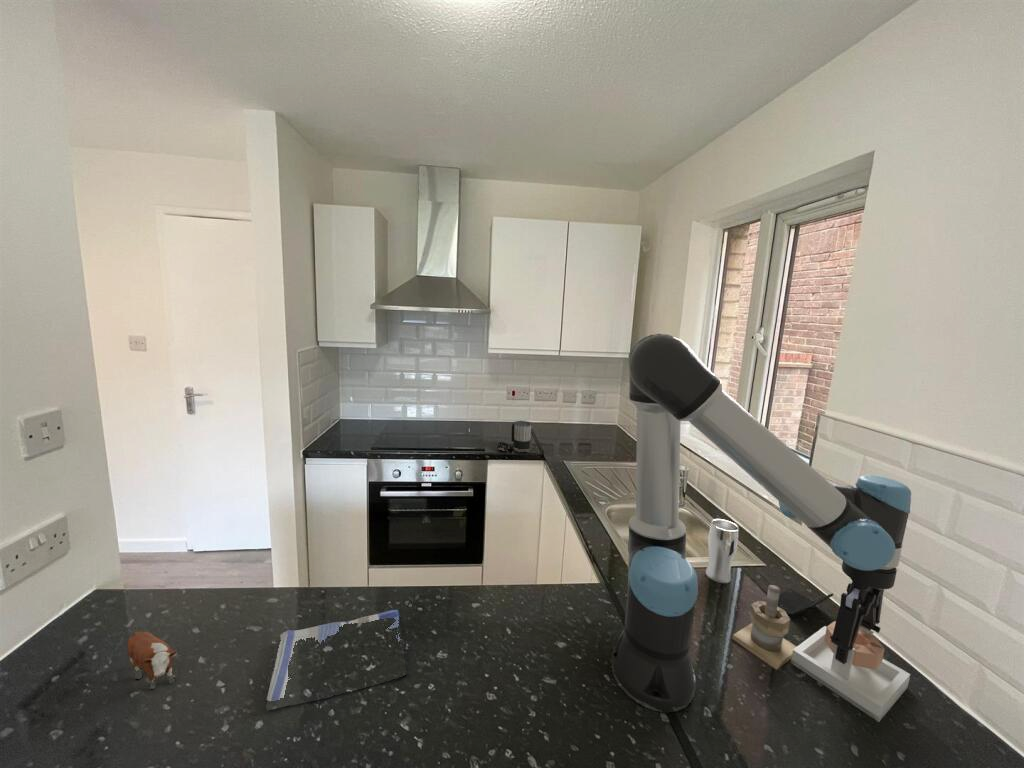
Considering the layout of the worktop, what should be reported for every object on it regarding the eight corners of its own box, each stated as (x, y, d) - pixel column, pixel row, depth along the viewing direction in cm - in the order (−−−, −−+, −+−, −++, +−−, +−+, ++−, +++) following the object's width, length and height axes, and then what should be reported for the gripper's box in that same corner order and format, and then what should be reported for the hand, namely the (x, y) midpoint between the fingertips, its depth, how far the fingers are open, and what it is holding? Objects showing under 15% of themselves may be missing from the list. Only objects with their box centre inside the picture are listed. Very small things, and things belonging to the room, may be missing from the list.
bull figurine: (154, 710, 66) (149, 666, 65) (125, 670, 73) (121, 630, 72) (186, 690, 70) (182, 648, 69) (156, 654, 77) (152, 615, 76)
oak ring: (776, 640, 81) (778, 627, 81) (744, 619, 87) (746, 607, 86) (792, 629, 85) (794, 616, 84) (760, 610, 90) (762, 597, 89)
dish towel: (281, 639, 83) (281, 627, 82) (401, 616, 90) (401, 605, 90) (260, 718, 66) (260, 703, 66) (408, 682, 74) (408, 668, 74)
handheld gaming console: (781, 581, 107) (812, 567, 100) (804, 608, 103) (838, 595, 97) (762, 604, 100) (794, 590, 93) (787, 633, 97) (822, 621, 90)
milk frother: (534, 451, 210) (535, 423, 208) (513, 457, 199) (515, 428, 197) (513, 444, 220) (515, 418, 218) (493, 450, 208) (494, 422, 206)
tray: (878, 722, 70) (882, 707, 70) (790, 662, 82) (792, 649, 82) (907, 687, 78) (910, 674, 77) (822, 638, 89) (824, 625, 89)
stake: (776, 669, 80) (786, 608, 78) (732, 638, 88) (740, 581, 86) (798, 652, 85) (809, 594, 83) (755, 624, 92) (763, 570, 90)
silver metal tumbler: (736, 586, 106) (743, 533, 104) (707, 582, 107) (714, 529, 105) (727, 571, 113) (734, 520, 110) (701, 566, 114) (707, 517, 112)
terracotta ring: (886, 658, 78) (889, 644, 77) (869, 675, 74) (872, 660, 73) (836, 630, 84) (839, 617, 84) (818, 644, 80) (821, 630, 80)
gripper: (867, 536, 85) (848, 633, 88) (821, 563, 74) (802, 672, 77) (916, 554, 78) (894, 658, 82) (873, 586, 68) (850, 704, 71)
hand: (849, 665), depth 79 cm, fingers closed on terracotta ring, 8 cm apart
